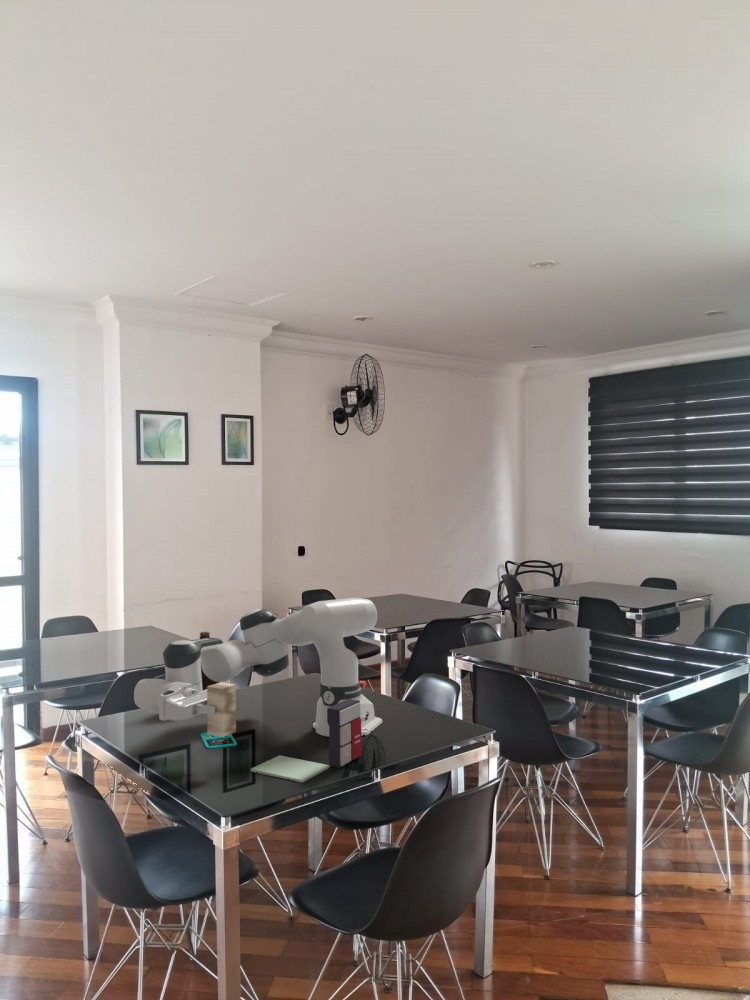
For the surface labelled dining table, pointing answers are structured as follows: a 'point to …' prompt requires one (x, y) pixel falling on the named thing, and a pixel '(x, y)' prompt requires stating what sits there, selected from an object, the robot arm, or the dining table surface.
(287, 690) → the dining table surface
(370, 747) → the dining table surface
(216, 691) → the birch block
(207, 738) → the handheld gaming console
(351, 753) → the dark grey box
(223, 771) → the dining table surface
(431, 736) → the dining table surface
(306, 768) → the rubber mat
